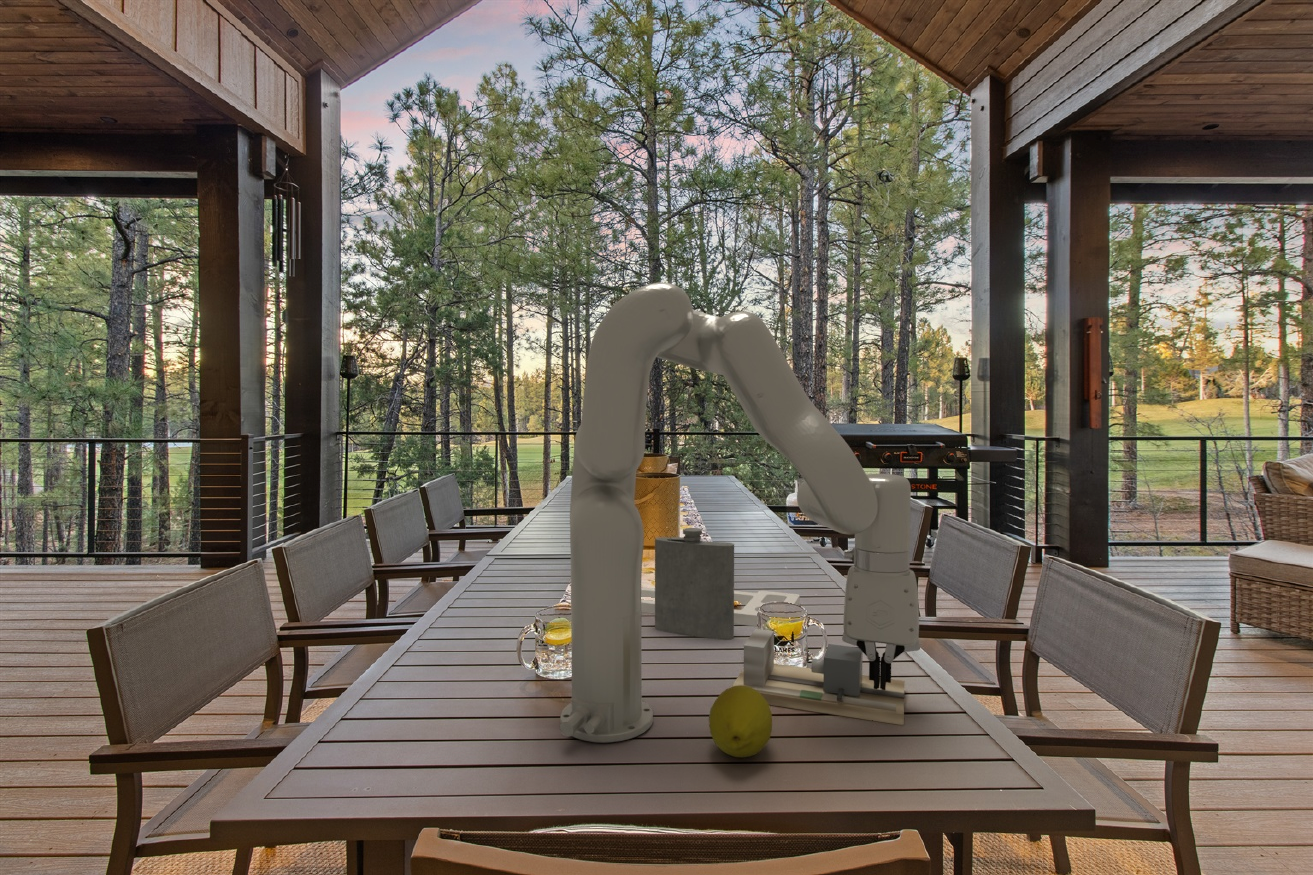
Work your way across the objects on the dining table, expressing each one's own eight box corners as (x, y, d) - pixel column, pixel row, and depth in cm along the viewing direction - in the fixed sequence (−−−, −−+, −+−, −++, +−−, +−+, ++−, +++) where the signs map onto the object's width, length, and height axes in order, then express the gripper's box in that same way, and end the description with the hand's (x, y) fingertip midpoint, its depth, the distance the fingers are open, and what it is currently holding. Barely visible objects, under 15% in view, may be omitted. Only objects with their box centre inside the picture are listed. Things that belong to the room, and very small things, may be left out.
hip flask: (736, 635, 128) (736, 529, 127) (729, 642, 124) (729, 533, 123) (659, 624, 134) (658, 523, 134) (650, 630, 131) (650, 527, 130)
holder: (577, 607, 148) (577, 595, 148) (612, 586, 164) (612, 575, 164) (783, 632, 131) (784, 618, 131) (799, 606, 148) (800, 594, 148)
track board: (903, 725, 92) (904, 670, 91) (730, 698, 100) (730, 648, 100) (904, 690, 103) (905, 641, 103) (748, 669, 111) (748, 624, 111)
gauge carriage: (857, 706, 93) (858, 670, 93) (806, 698, 96) (806, 663, 96) (862, 680, 102) (862, 647, 102) (814, 674, 105) (815, 642, 104)
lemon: (722, 728, 91) (722, 669, 90) (780, 739, 88) (781, 679, 87) (695, 768, 81) (695, 702, 81) (759, 782, 78) (759, 714, 77)
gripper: (825, 561, 97) (823, 688, 97) (938, 570, 91) (936, 704, 92) (831, 551, 104) (830, 669, 104) (937, 559, 98) (934, 683, 99)
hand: (879, 685), depth 98 cm, fingers closed
